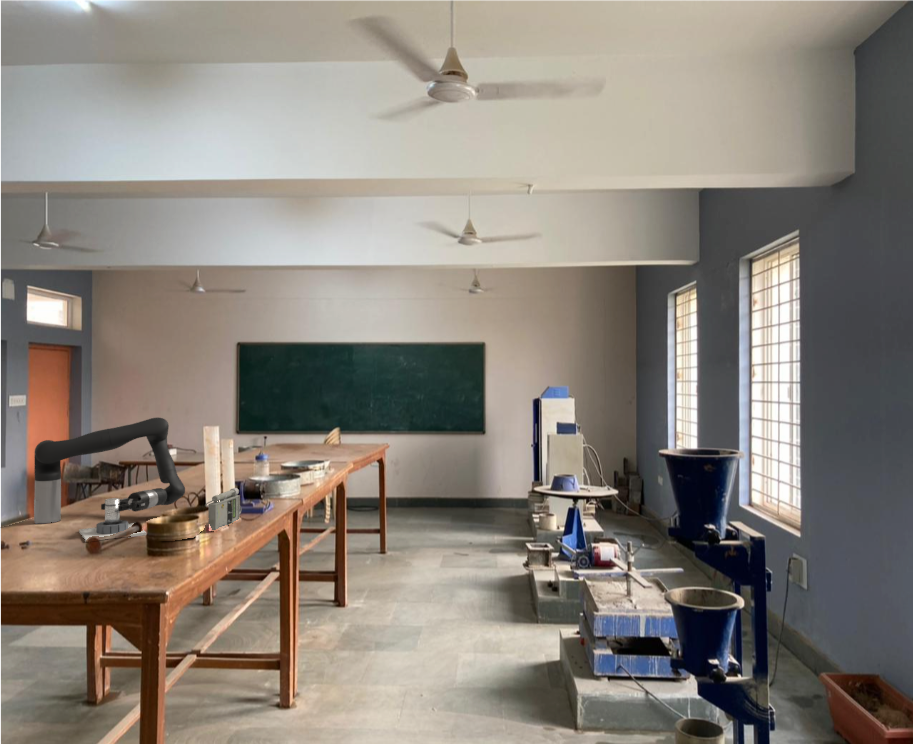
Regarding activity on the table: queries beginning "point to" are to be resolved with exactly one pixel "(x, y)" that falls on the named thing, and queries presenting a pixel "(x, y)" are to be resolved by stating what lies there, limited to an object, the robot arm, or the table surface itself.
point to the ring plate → (93, 532)
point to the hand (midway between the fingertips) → (110, 507)
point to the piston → (112, 511)
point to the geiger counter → (224, 509)
